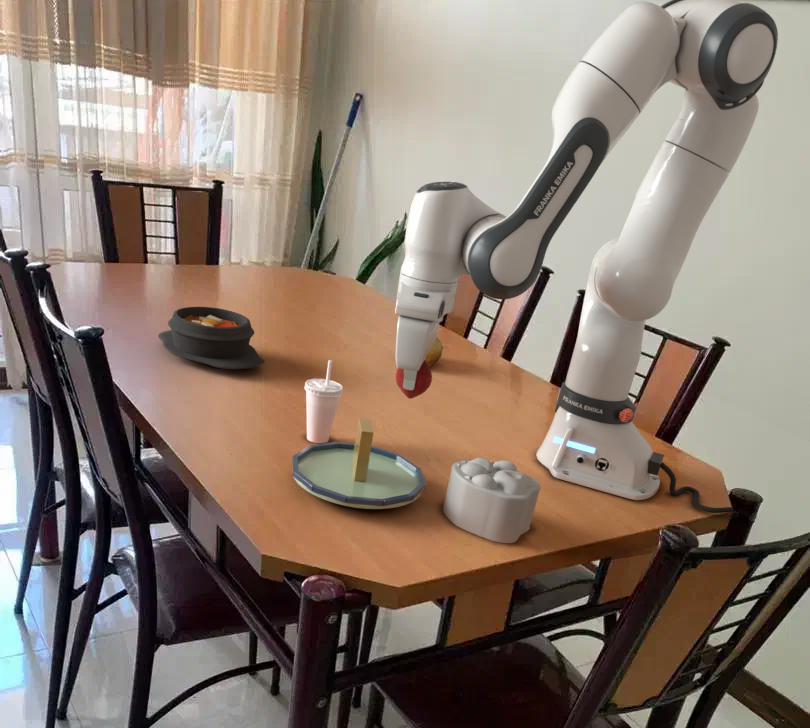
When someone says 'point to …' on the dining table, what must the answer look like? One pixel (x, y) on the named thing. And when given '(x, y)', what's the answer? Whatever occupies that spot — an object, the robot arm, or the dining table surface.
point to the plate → (342, 478)
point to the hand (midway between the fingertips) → (412, 382)
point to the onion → (421, 382)
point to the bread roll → (434, 352)
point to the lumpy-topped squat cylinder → (491, 499)
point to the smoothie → (321, 406)
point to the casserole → (211, 338)
